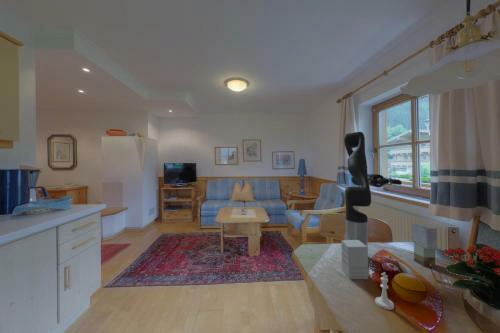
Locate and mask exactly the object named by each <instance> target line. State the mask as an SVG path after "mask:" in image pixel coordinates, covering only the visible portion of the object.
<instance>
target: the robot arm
mask: <svg viewBox="0 0 500 333" xmlns="http://www.w3.org/2000/svg"><path fill="white" fill-rule="evenodd" d="M343 142H344V147H345V150H346V153H347V155H348V159H347V171H348V173H349V174H350V175H351V176H352V177H351V179H350V180H351V183H352V184H353V185H355V186H346V187H345V190H344V199H345V201H344V202H345V233H344V234H343V240H359V241H360V242H362V243H363V244H364V245H366V246H367V247H368V248H369V246H368V244H369V243H368V242H369V241H368V240H369V238H368V237H369V236H368V233H369V232H368V231H369V230H368V216H367V214H366V213H364V212H360V211H359V210H357V209H355V208H354V207H370V206H371V204H372V192H371V187H375V188H383V186H387V185H388V186H392V185H398V186H401V185H402V183H403V182H402V180H400V179H396V178H394V179H393V178H387V177H384V176H383V175H381V174H377V173H369V172H368V163H367V162H368V161H367V157H366V138H365V134H364V133H363V132H362V131H356V132H355V131H354V132H350V133H349V132H348V133H345V134H344V136H343ZM354 148H356V149H355V150H353V149H354Z"/></svg>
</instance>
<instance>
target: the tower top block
mask: <svg viewBox="0 0 500 333" xmlns="http://www.w3.org/2000/svg"><path fill="white" fill-rule="evenodd" d="M414 253H416V254H418V255H420V256H422V257H435V258H436V249H426V248H424V247H422V246H420V245H417V244H415V243H413V254H414Z"/></svg>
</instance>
